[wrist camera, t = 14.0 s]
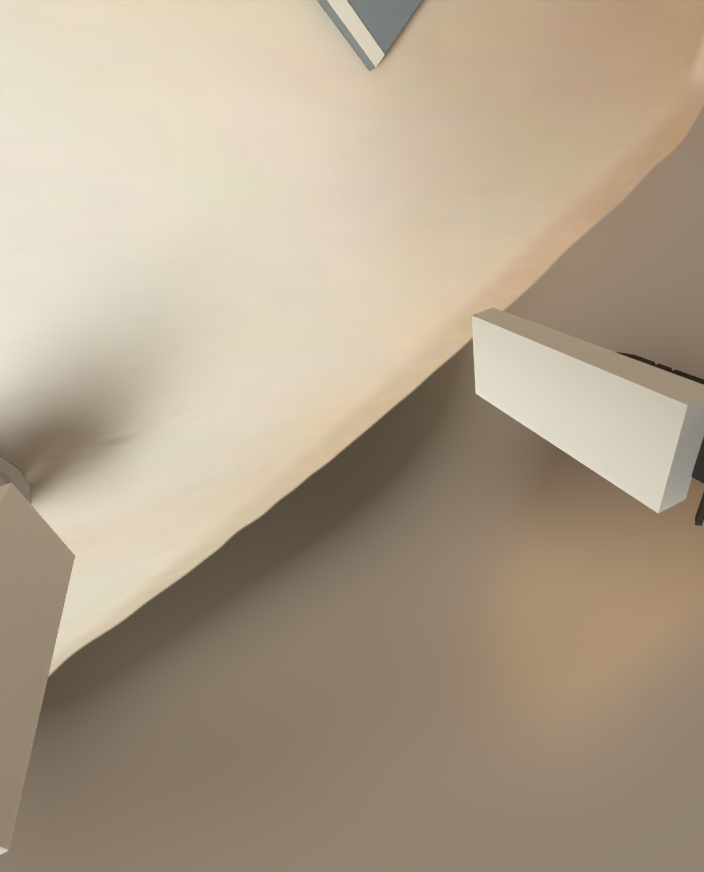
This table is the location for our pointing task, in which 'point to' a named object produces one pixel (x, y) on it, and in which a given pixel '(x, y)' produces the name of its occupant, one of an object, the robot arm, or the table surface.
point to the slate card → (370, 24)
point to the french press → (14, 478)
